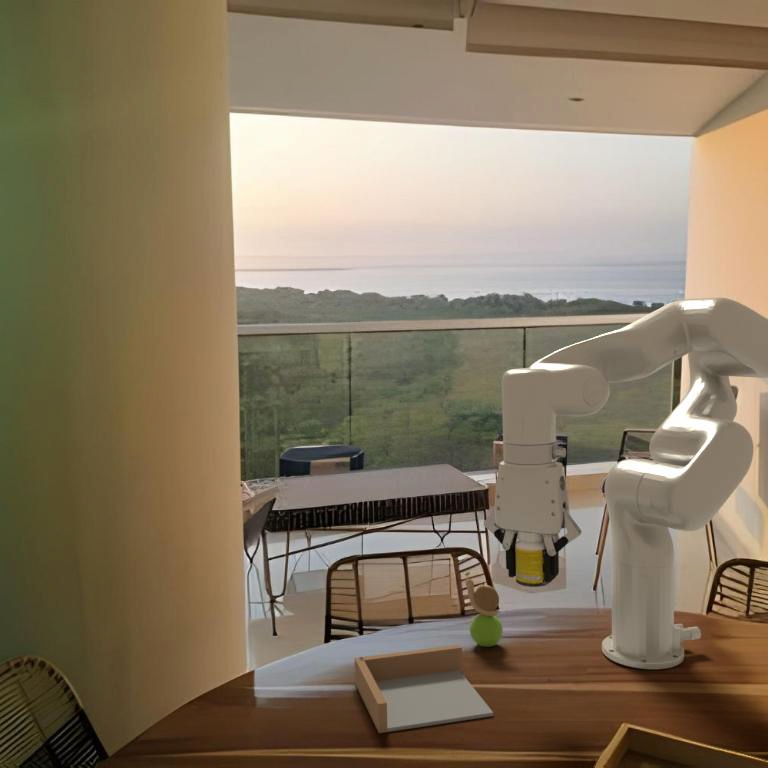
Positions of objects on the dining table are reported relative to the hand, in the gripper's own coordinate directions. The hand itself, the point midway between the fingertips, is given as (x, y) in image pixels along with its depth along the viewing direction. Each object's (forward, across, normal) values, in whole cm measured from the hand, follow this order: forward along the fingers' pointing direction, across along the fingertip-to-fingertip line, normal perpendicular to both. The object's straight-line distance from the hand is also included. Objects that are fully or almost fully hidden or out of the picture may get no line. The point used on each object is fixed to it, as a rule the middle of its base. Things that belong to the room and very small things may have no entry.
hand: (532, 576), depth 115 cm
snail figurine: (+17, +13, -11) cm, 24 cm away
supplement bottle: (+2, 0, 0) cm, 2 cm away
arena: (+17, +13, +11) cm, 24 cm away
